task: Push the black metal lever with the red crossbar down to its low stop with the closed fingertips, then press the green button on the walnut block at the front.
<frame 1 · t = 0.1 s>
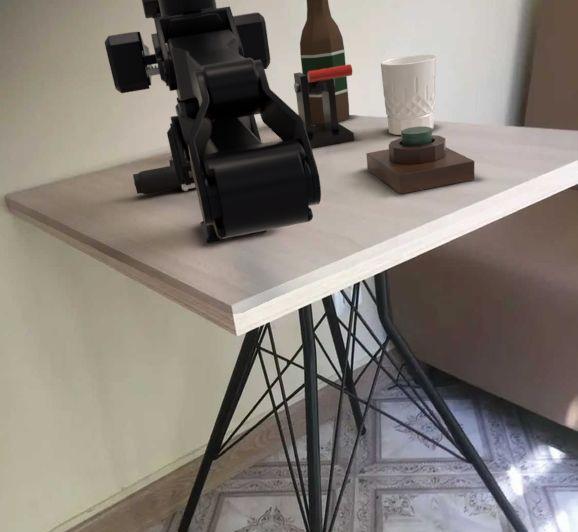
hand: (183, 47, 89), 17 cm above the table, tool horizontal, fingers open, 9 cm apart
button block: (418, 174, 84), on the table
lever: (321, 79, 100), point 9 cm above the table, hinge at 15.0°
white cup: (410, 131, 106), on the table
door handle: (206, 175, 98), on the table
button: (416, 137, 82), point 4 cm above the table, slide at 0.1 cm
beer bottle: (329, 120, 120), on the table
bracket: (320, 138, 108), on the table
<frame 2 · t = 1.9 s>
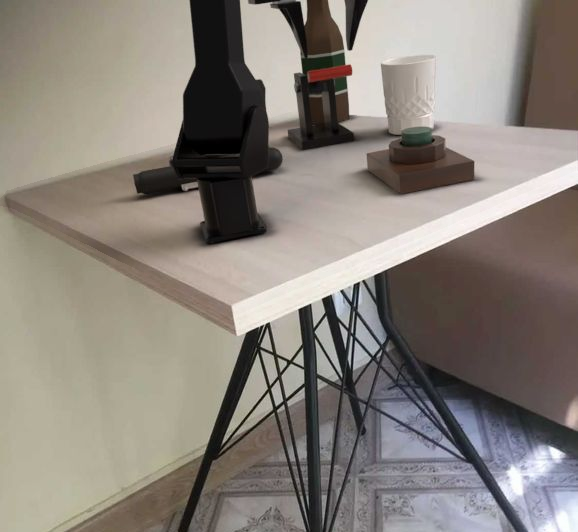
hand: (327, 54, 93), 13 cm above the table, tool pointing down, fingers open, 6 cm apart
nothing on the table moved.
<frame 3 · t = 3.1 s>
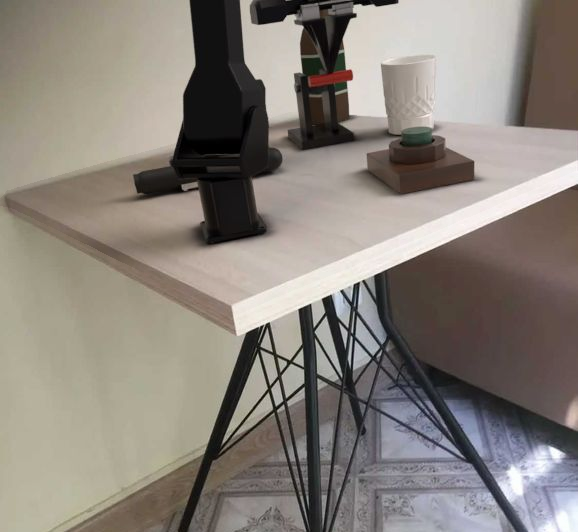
hand: (329, 72, 94), 11 cm above the table, tool pointing down, fingers closed, pressing on lever
lever: (321, 82, 100), point 9 cm above the table, hinge at 11.3°, touching gripper
everything else where it was.
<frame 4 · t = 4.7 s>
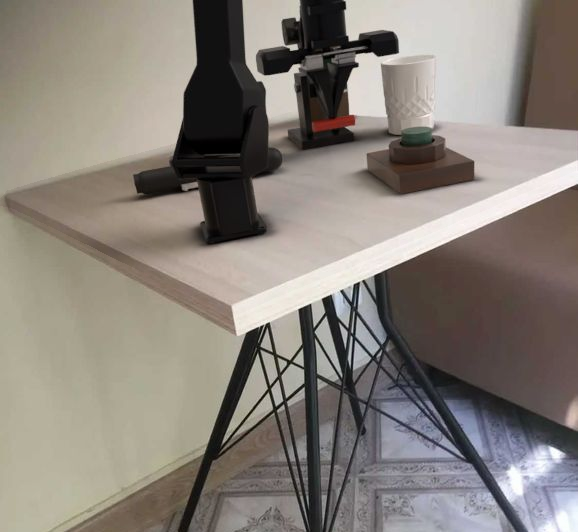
hand: (332, 117, 98), 5 cm above the table, tool pointing down, fingers closed, pressing on lever
lever: (323, 102, 102), point 6 cm above the table, hinge at -24.7°, touching gripper
everything else where it was.
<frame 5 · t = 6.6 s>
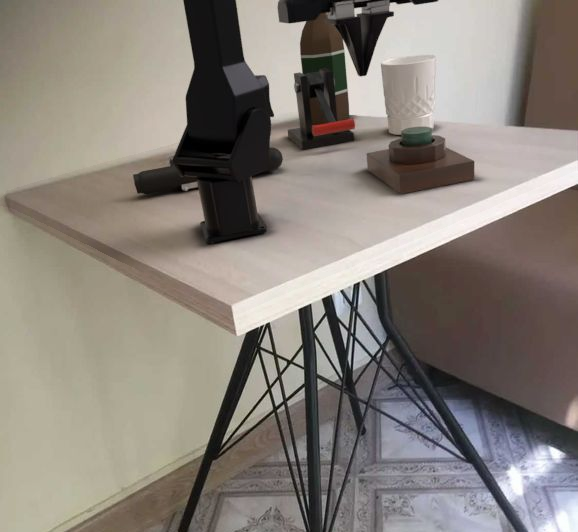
hand: (362, 75, 88), 11 cm above the table, tool pointing down, fingers closed
lever: (323, 104, 102), point 6 cm above the table, hinge at -28.5°
everything else where it was.
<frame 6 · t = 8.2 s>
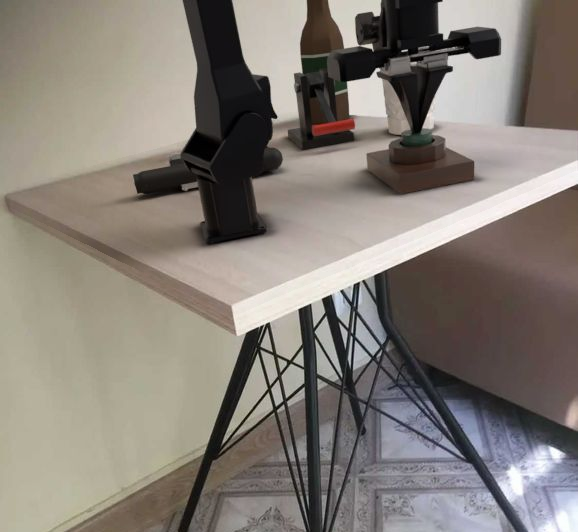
hand: (416, 132, 82), 5 cm above the table, tool pointing down, fingers closed, pressing on button
button: (416, 139, 82), point 4 cm above the table, slide at -0.1 cm, touching gripper
everything else where it was.
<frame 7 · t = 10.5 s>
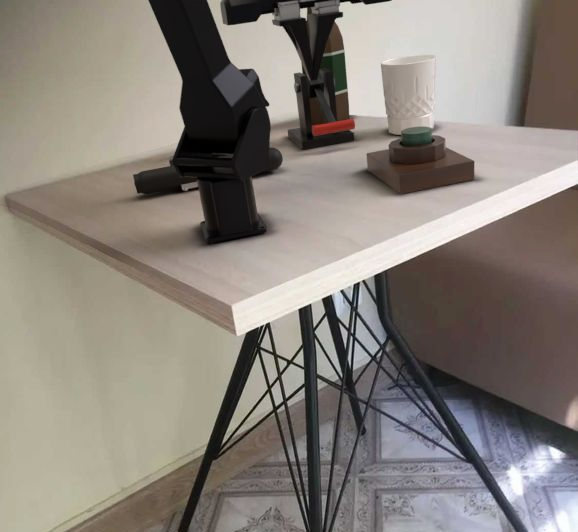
hand: (313, 80, 82), 12 cm above the table, tool pointing down, fingers closed
button: (416, 137, 82), point 4 cm above the table, slide at 0.1 cm
everything else where it was.
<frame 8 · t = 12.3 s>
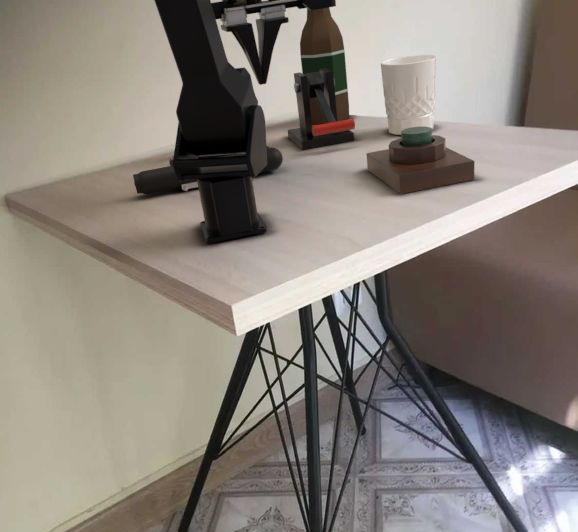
hand: (262, 83, 84), 12 cm above the table, tool pointing down, fingers closed
nothing on the table moved.
at the end: lever at -28° (first picture: +15°); button pushed in 1.1 cm at the most during the clip, back to where it started at the end; button slide at 0.1 cm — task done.
